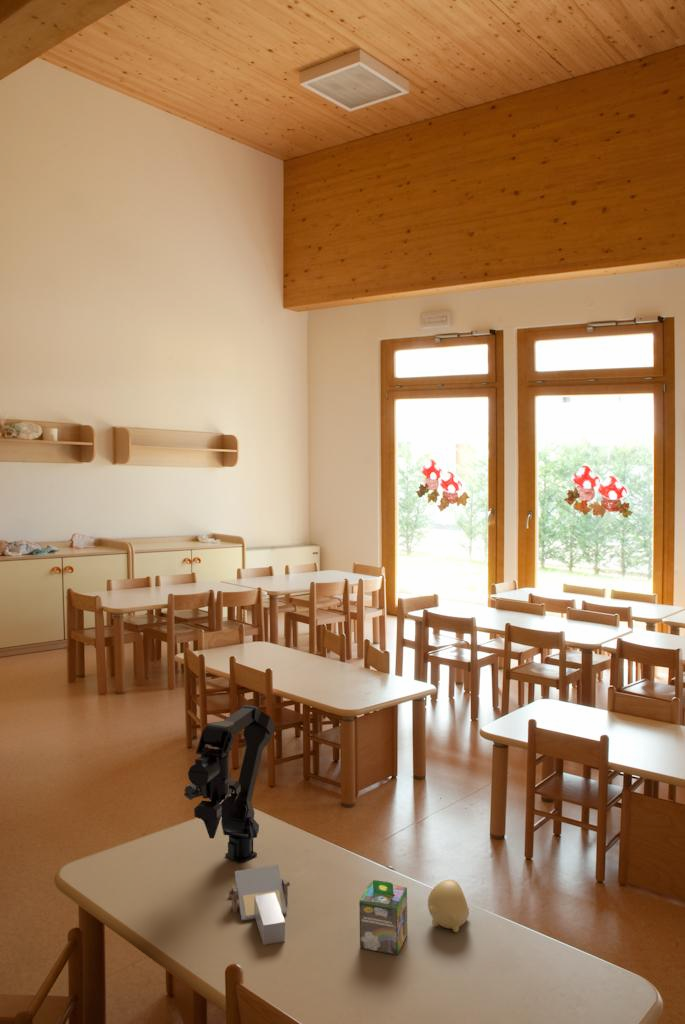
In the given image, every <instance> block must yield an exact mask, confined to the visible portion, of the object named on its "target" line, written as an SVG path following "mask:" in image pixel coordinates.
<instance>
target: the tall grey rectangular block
mask: <svg viewBox="0 0 685 1024" xmlns="http://www.w3.org/2000/svg"><path fill="white" fill-rule="evenodd" d="M254 916H255V919H254V920H255V922H256V925H257V928H258V932H259V935H260V939H261V942H262V945H263V946H265V945H271V944H272V945H273V944H276V943H283V942H286V941H285V939H286V920H285V918H284V914H282V911H281V908H280V905H279V903H278V900H277V897H276V894H275V893H268V894H262V895H255V896H254Z"/></svg>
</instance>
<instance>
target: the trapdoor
mask: <svg viewBox="0 0 685 1024" xmlns="http://www.w3.org/2000/svg"><path fill="white" fill-rule="evenodd" d="M234 877H235V886H236V889H237V893H238V897H237V901H238V905H239V913H240V917H241V921H242V922H244V921H249V920H256V919H255V916H254V896H255V895H262V894H268V893H275V894H276V897H277V900H278V903H279V905H280V908H281V911H282V914H283V915H287V913H288V909H287V905H286V904H285V899H284V893H283V888H282V877H281V873H280V867H279V864H275V865H270V866H269V865H268V866H261V867H254V868H248V869H240V870H235V871H234Z"/></svg>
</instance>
